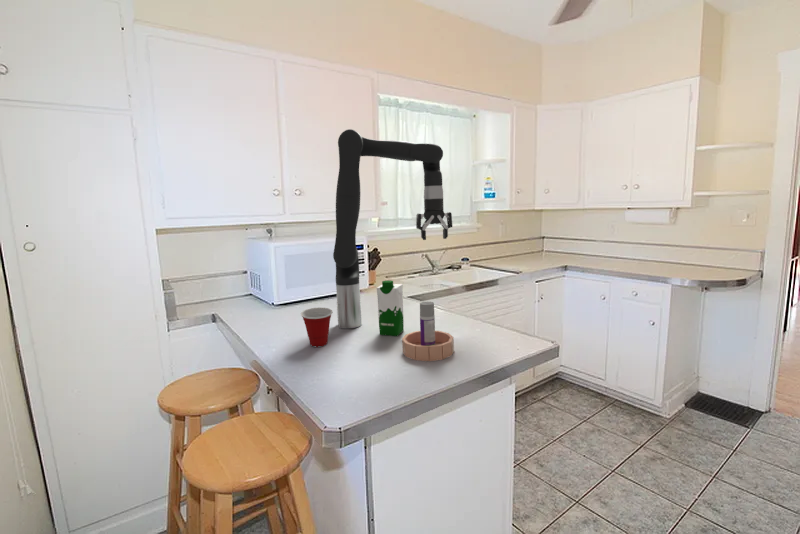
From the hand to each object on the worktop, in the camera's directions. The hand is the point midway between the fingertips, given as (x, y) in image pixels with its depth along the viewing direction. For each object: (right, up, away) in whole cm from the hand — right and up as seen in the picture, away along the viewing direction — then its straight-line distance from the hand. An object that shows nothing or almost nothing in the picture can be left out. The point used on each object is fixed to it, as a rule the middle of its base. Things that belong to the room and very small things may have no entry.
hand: (434, 239), depth 160 cm
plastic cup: (-42, -38, -19) cm, 60 cm away
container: (-5, -38, -30) cm, 48 cm away
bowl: (-5, -38, -30) cm, 49 cm away
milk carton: (-17, -36, -9) cm, 41 cm away
